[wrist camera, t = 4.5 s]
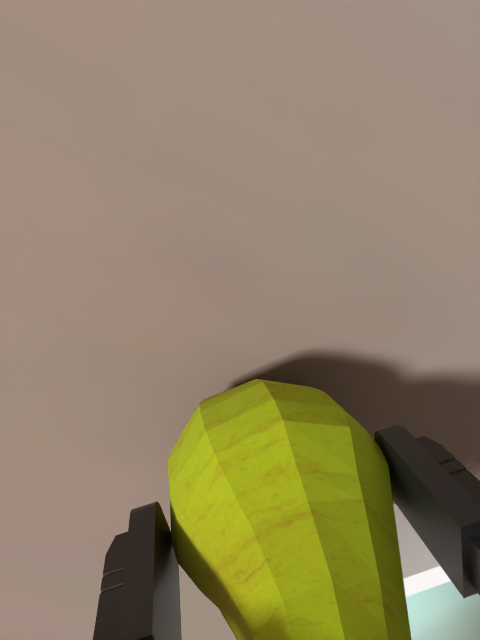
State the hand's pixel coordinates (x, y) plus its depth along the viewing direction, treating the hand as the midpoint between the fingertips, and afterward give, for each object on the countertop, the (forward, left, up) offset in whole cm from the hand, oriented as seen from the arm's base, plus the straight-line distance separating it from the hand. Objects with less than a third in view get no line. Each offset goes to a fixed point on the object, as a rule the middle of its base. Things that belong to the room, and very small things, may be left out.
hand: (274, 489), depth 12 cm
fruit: (0, 0, -4) cm, 4 cm away
